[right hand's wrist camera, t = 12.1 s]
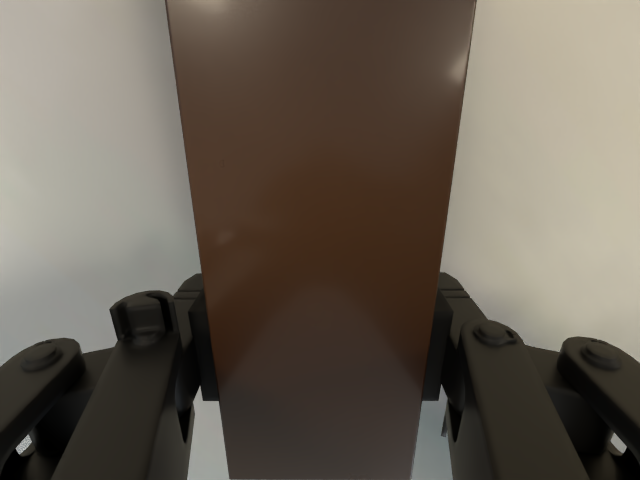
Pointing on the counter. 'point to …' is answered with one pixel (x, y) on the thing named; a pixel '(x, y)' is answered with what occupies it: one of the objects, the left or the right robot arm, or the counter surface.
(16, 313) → the counter surface
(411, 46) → the plank
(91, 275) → the counter surface
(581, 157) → the counter surface
